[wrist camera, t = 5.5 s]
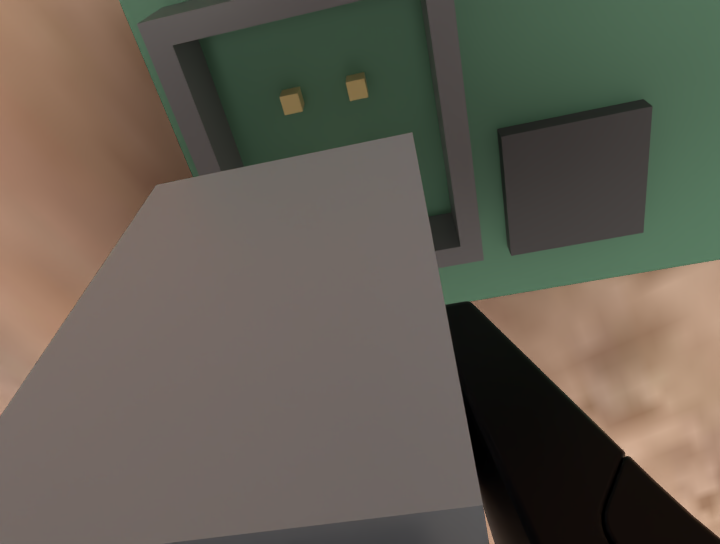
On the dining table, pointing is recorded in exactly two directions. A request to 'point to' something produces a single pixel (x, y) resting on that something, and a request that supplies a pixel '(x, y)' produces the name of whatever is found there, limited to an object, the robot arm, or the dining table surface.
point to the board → (506, 122)
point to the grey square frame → (212, 131)
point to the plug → (254, 372)
